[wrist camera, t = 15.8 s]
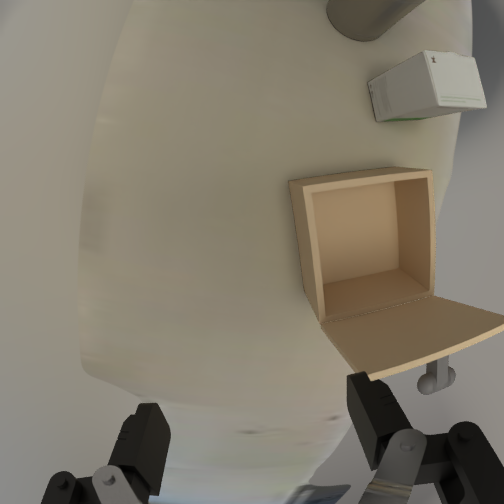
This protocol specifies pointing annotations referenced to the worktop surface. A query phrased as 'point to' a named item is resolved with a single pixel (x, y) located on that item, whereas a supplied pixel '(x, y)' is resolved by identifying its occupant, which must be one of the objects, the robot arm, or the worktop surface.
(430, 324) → the lid flap
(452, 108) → the skincare box
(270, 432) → the worktop surface
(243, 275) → the worktop surface
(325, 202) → the carton
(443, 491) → the robot arm
